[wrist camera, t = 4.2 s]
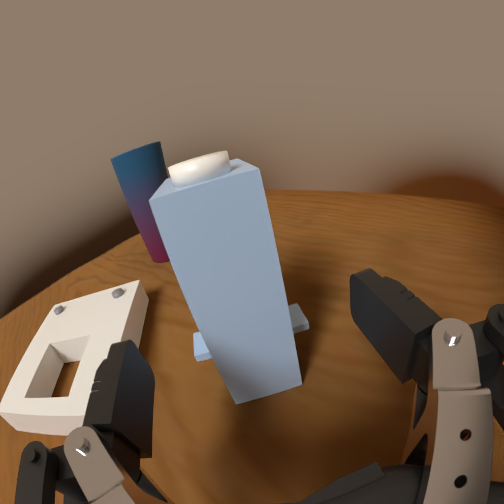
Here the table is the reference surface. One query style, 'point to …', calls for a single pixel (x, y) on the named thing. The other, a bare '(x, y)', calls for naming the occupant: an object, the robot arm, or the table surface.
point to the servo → (230, 273)
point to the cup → (143, 191)
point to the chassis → (71, 357)
